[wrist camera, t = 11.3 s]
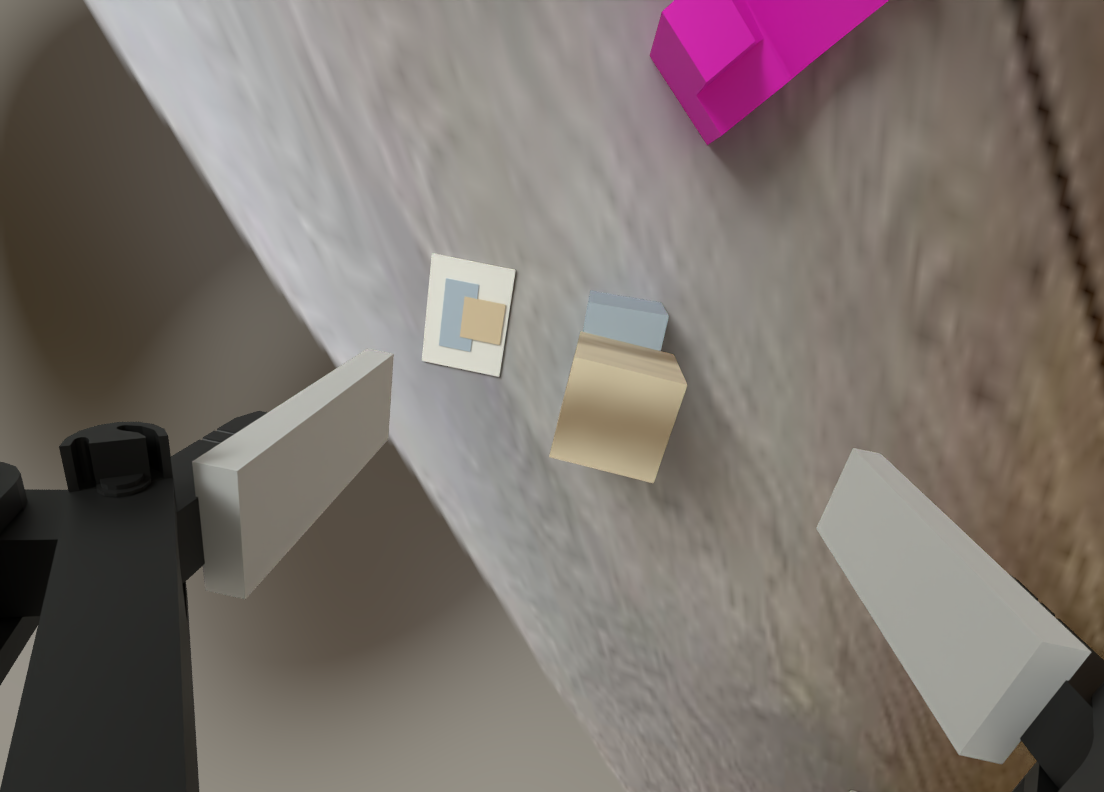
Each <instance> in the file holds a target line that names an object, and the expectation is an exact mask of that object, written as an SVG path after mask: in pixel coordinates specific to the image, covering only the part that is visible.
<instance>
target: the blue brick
mask: <svg viewBox="0 0 1104 792" xmlns="http://www.w3.org/2000/svg"><path fill="white" fill-rule="evenodd" d="M668 318H669V315H668V314H667V312H666V310H665V308H664V307H663V305H662V303H661V302H655V301H649V300H643V299H638V298H632V297H626V296H620V295H614V294H608V293H602V292H596V291H590V296H589V300H588V306H587V311H586V317H585V323H584V328H583V332H586V333H590V334H594V335H598V336H602V337H606V338H610V339H614V340H618V341H622V342H626V343H630V344H634V345H638V346H642V347H646V348H650V349H654V350H658V351H661V347H662V343H663V339H664V335H665V330H666V326H667V322H668Z"/></svg>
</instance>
